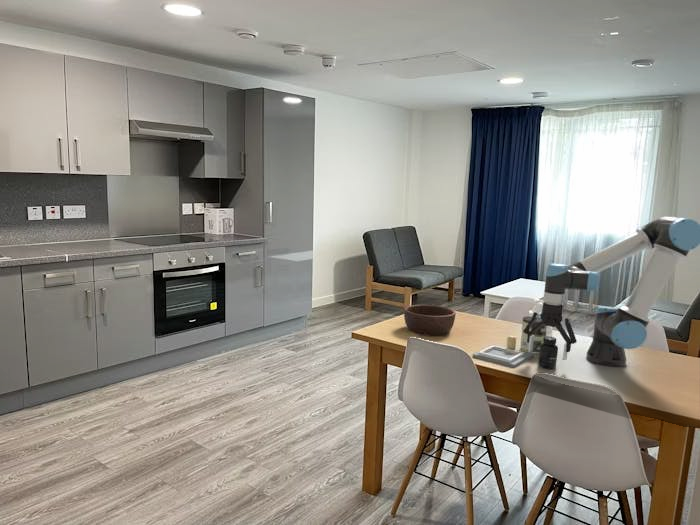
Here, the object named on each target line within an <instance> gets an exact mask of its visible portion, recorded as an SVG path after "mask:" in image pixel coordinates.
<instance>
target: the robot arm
mask: <svg viewBox="0 0 700 525" xmlns="http://www.w3.org/2000/svg"><path fill="white" fill-rule="evenodd" d="M698 246H700V223H699V222H698V221H696V220H695V219H692V218H690V217H685V216H681V217H679V216H673V215H668V216H667V215H666V216H662V217H659V218H657V219H655V220H652V221H651V222H647V223H646V224H644V225H642V226H641V227H638V228H637V229H636V230H635V232H634V233H633V234H631V235H629V236H626V237H624V238H622V239H621V240H619V241H616V242H615V243H613V244H611V245H609V246H606V247H605V248H603V249H601V250H598V251H597V252H595V253H593V254H591V255H589V256H587V257H584V258H583V259H581V260H579V261H577V262H575V263H573V264H562V263H549V264H548V265H547V267H546V273H545V283H544V291H543V297H542V298H543V302H542V303H543V307H542V313H538V312H534V313H533V317H532V319H531V320H530V322H529V323H528V325H527V326H526V328H525V329H524V331H523V332H524V333H526V334H527V335H528V337H527V343H529V349H528V352H531V351H533V342H534V335H532V334H533V333H534V332H535V331H536V330H538V329H539V328H540V327H541V326H542V325H544V324H545V325H546V326H551V327H553V328H556V330H558V332H559V334H560V335H561V337H562V338H563V340H564V342H565V343H564V345H563V351H562V361H566V360H567V358H568V353H570V352H571V348H572V345H574V344H576V343H577V341H578V340H577V338H576V335H575V332H574V330H573V326H572V324H571V317H563V310H564V305H563V304H564V302H565V296H566V294H565V293H566V290H574V291H575V290H576V291H586V292H593V291H597V290H598V289H599V287H600V283H601V282H600V281H601V280H600V279H601V278H600V275H599V273H600V272H602V271H604V270H606V269H608V268H610V267H613V266H614V265H616V264H619V263H621V262H622V261H624V260H626V259H628V258H630V257H632V256H634V255H637V254H638V253H640V252H643V251H645V250H649V251H650V250H653V249H654V252H653V254H652V255H651V257H650V259H649V261H648V263H647V265H646V267H645V268H644V270H643V272H642V273H641V275H640V277H639V279H638V281H637V283H636V284H635V286H634V288H633V290H632V292H631V293H630V296H629V298H628V299H627V301H626V303H625V304H624V305H623V306H619V307H615V306H597V308H596V310H595V314H594V323H593V324H594V325H593V332H592V340H591V344H590V345H589V347H588V350H587V351H586V356H585V357H586V360H588V361H590V362H592V363H594V364H598V365H603V366H607V367H625V366H626V365H627V354H626V352H625V351H626V350H633V349H637V348H639V347H641V346H642V345H643V344H644V343H645V342H646V341H647V336H648V331H647V326H649V323H650V319H649V317H648V315H650V314H649V313H650V312H651V310H652V309H653V307H654V304H655V303H656V301H657V299H658V298H659V296H660V294H661V293H662V291H663V289H664V287H665V286H666V284H667V282H668V280H669V278H670V276H671V275H672V273H673V272H674V270H675V268H676V266H677V264H678V262H679V261H680V260H683V259H686V257H687V256H688V254H689V252H690V251H691V250H694V249H696V248H697V247H698ZM539 316H540V317H541V319H542V321H541V322H540V323H539V324H538V325H537V326H535V327H534V328H533V329H532V330H531V331H529V330H530V328H531V327H532V325H533V324H534V322H535V321H536V319H537V318H539ZM562 322H563V324H564V325H565V328H564V327H563V324H562ZM565 329H566V330H565ZM566 331H567V332H566ZM567 333H568V334H567ZM528 352H527V353H528Z"/></svg>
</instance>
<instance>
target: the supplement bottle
mask: <svg viewBox="0 0 700 525" xmlns="http://www.w3.org/2000/svg"><path fill="white" fill-rule="evenodd" d="M543 342H544V343H542V344H541V345H540V350H539V354H538V359H537V360H538V362H537V366H538V367H540V368H541V369H545V370H556V368H557V362H558V361H557V360H558V353H559V347H558V345H557V338H556V337H553V336H552V337H549V336H545V337H544V338H543Z"/></svg>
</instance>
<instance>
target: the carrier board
mask: <svg viewBox="0 0 700 525" xmlns="http://www.w3.org/2000/svg"><path fill="white" fill-rule="evenodd" d="M516 345H517V336H515V335H507V340H506V346H501V345H497V344H492V345H490V346H488V347H486V348H483V349H481V350H479V351H477V352H474V353H472V358H474V359H479V360H484V361H486V360H487V362H492V363H495V364H498V365H503V366H506V367H510V368H516V367H518V366H519V365H520V366H521V364H523V363H524V361H525V362H527V361H529V360H530V359H532V358H533V357H534V355H535V354H534V353H528V352H524V351H522V350H519V349H516ZM526 360H527V361H526Z"/></svg>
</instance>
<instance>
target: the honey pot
mask: <svg viewBox="0 0 700 525" xmlns="http://www.w3.org/2000/svg"><path fill="white" fill-rule="evenodd" d="M540 301H541V300H540V299H536V298H534V300H533V302H534V303H535V304H536V305H534V307H533V308H532V310H531V309H530V310H528V314H529V315H528V317H529V316H530V317H533V313H534V312H538V313H542V307H543V303H544V302H540ZM539 317H540V316H539ZM540 318H541V317H540ZM553 328H554V327H551V326H547V329H546V336H549V337H553Z"/></svg>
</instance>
